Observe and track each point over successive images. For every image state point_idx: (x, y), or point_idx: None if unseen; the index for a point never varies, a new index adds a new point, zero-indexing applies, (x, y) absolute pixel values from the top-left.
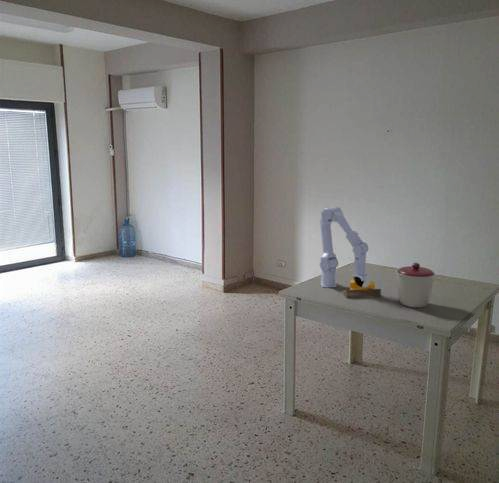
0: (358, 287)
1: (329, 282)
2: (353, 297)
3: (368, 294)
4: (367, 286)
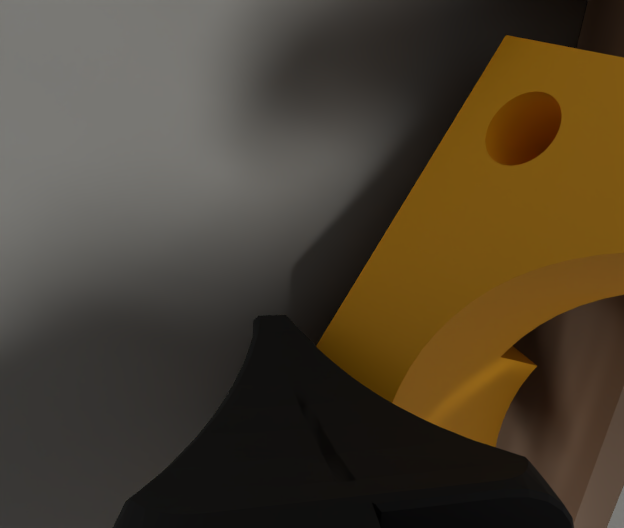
0: None
1: None
2: None
3: None
4: (522, 274)
